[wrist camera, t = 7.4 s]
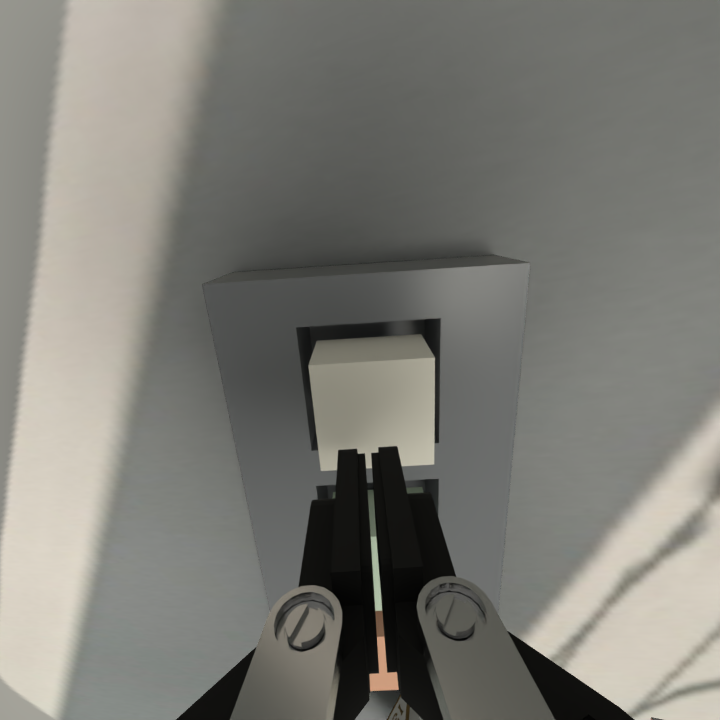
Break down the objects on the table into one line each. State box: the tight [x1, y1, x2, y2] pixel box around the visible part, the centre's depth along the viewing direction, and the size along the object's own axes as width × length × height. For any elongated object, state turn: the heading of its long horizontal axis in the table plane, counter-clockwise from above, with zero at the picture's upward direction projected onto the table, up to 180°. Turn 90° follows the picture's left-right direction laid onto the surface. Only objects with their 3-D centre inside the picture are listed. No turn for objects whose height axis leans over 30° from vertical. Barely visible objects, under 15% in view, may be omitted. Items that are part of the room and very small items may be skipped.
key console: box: [202, 255, 530, 613], centre depth 21 cm, size 26×13×4 cm, turn 4°
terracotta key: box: [370, 611, 399, 691], centre depth 22 cm, size 4×4×3 cm
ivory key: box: [308, 334, 435, 471], centre depth 15 cm, size 4×4×3 cm
